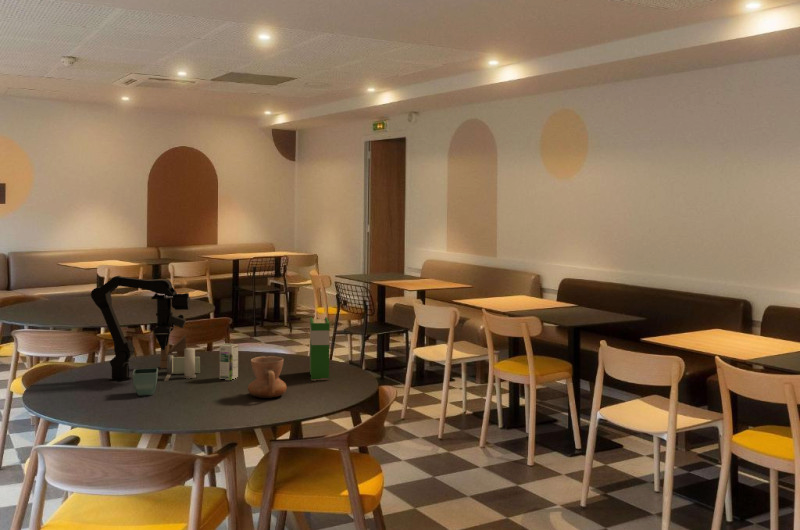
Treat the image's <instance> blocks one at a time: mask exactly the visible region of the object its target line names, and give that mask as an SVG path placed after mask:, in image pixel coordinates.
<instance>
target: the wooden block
mask: <svg viewBox="0 0 800 530" xmlns="http://www.w3.org/2000/svg"><path fill="white" fill-rule="evenodd" d="M186 336H187V335H186V334H184V335H183V336H182V337H181V338H180V339H179V340H178V341H177V342H175V344H174V345H173V346H172V347H171V348H170V339H169V340H168V345H167V346H165V350H162V349H161V348H160V360H159V363H160V364H159V365H160V366H159V367H160V369H161V370H163V369H162V368H166V369H167V355H170V353H176V357H184V349H186V348H187V337H186Z"/></svg>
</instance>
